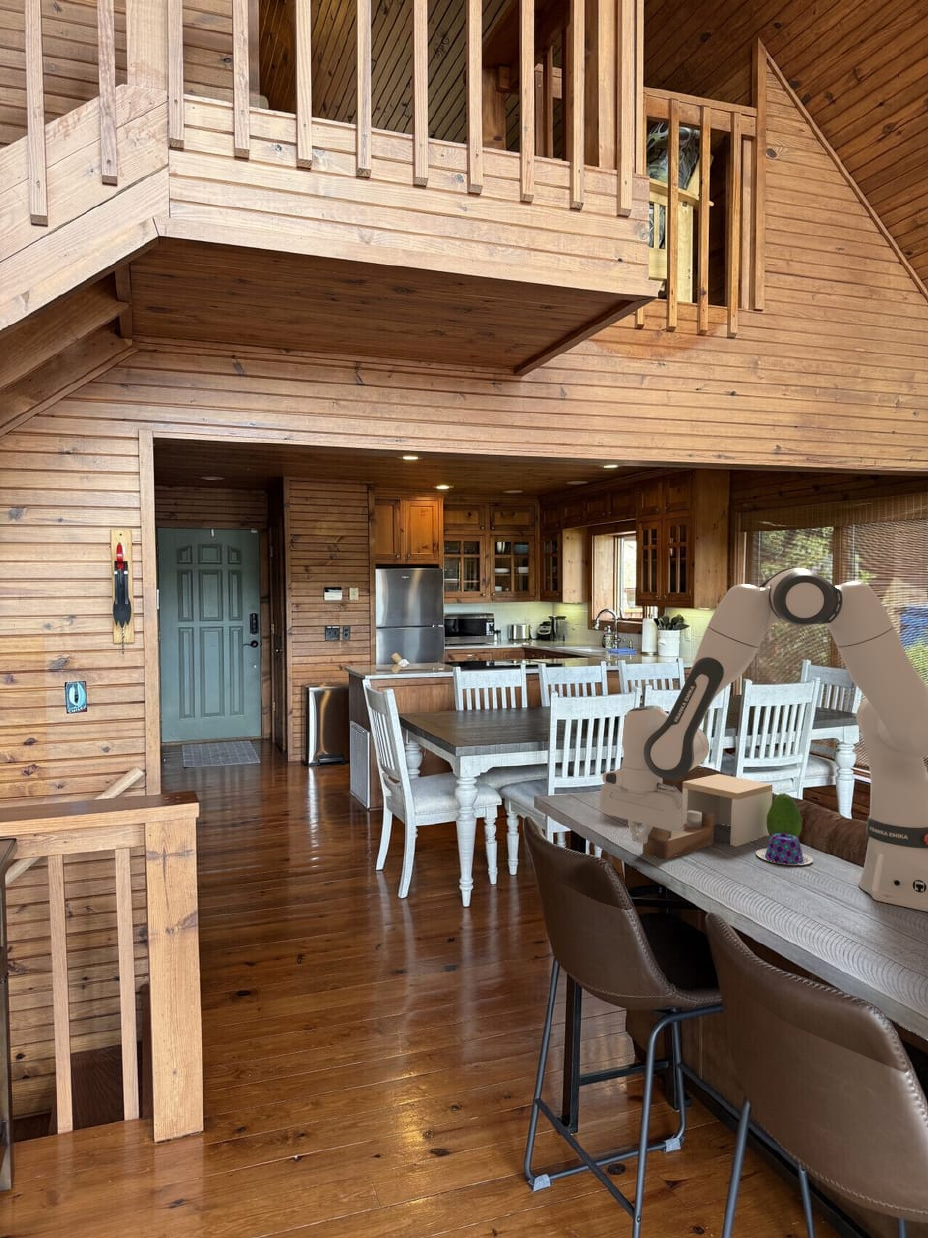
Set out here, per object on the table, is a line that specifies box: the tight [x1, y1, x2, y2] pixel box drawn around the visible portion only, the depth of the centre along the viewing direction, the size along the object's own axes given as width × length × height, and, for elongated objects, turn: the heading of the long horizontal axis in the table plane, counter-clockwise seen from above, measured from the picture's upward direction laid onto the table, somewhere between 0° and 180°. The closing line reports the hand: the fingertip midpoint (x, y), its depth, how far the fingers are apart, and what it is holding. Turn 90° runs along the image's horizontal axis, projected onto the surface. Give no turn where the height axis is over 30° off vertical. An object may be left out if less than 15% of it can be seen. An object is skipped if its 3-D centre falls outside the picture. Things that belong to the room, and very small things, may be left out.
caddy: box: [642, 810, 715, 860], centre depth 192 cm, size 6×19×8 cm, turn 131°
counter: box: [681, 773, 773, 847], centre depth 205 cm, size 15×16×12 cm
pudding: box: [755, 833, 814, 866], centre depth 186 cm, size 12×12×5 cm
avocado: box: [766, 792, 803, 838], centre depth 198 cm, size 8×8×12 cm
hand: (639, 842), depth 182 cm, fingers closed
